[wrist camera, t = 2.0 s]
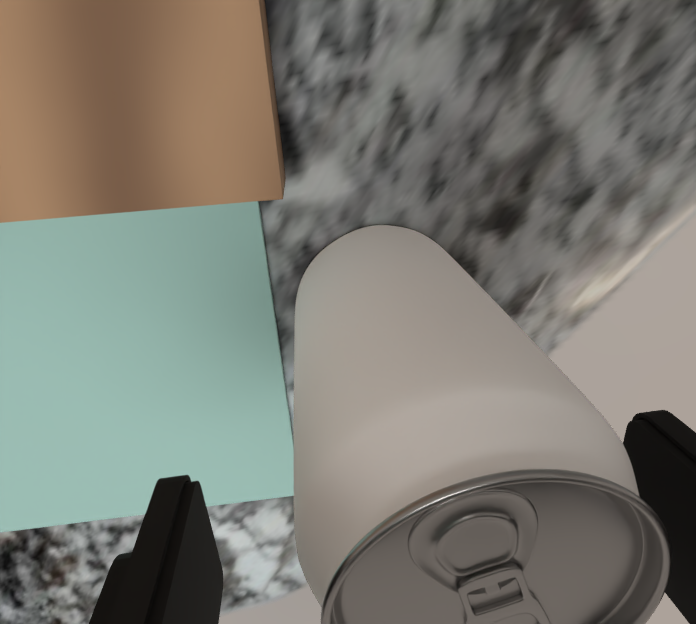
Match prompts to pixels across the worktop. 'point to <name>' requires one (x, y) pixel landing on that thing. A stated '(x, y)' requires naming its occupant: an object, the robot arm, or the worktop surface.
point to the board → (135, 106)
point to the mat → (138, 363)
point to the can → (453, 456)
